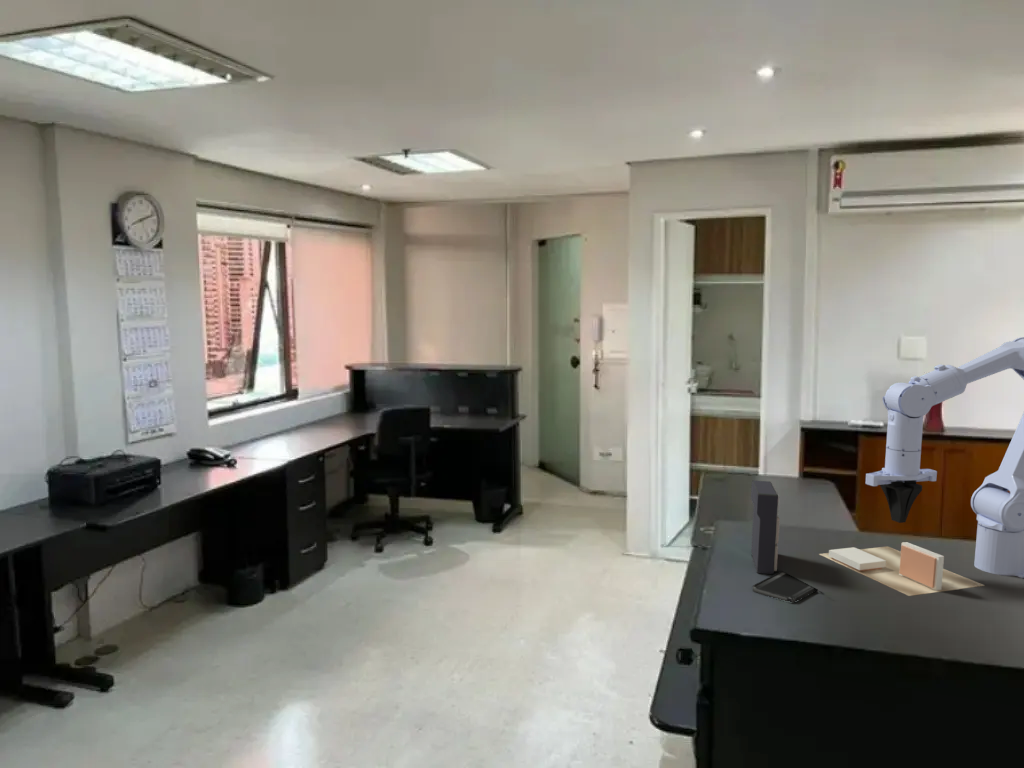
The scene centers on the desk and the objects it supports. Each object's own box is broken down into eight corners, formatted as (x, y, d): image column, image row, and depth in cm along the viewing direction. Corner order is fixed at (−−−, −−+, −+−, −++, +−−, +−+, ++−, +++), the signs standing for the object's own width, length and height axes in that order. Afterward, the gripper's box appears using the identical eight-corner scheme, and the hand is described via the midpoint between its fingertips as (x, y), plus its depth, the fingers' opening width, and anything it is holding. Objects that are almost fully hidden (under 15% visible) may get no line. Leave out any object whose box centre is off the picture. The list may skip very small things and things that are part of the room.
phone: (750, 586, 134) (790, 566, 144) (749, 593, 134) (789, 572, 144) (794, 600, 128) (832, 577, 138) (793, 606, 128) (831, 583, 139)
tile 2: (904, 573, 141) (906, 541, 140) (941, 589, 133) (944, 556, 133) (897, 574, 140) (899, 542, 140) (934, 590, 133) (936, 557, 132)
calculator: (778, 575, 141) (782, 495, 140) (753, 573, 142) (757, 493, 140) (770, 556, 152) (774, 481, 150) (747, 554, 153) (751, 479, 151)
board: (887, 550, 157) (887, 546, 157) (984, 589, 136) (984, 585, 136) (818, 557, 151) (818, 553, 151) (908, 600, 131) (909, 595, 130)
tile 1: (854, 547, 151) (829, 549, 149) (886, 560, 143) (859, 563, 141) (853, 555, 151) (828, 558, 149) (885, 569, 143) (859, 572, 141)
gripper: (917, 442, 147) (912, 512, 149) (855, 446, 143) (850, 518, 144) (948, 449, 141) (942, 522, 142) (884, 454, 136) (879, 529, 138)
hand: (898, 521), depth 143 cm, fingers closed
